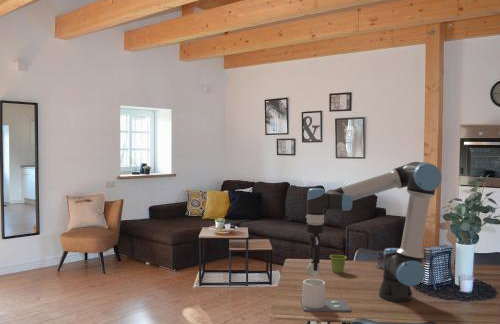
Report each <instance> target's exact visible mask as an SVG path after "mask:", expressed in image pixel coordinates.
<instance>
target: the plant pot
mask: <svg viewBox="0 0 500 324" xmlns="http://www.w3.org/2000/svg"><path fill="white" fill-rule="evenodd" d="M329 258H330V262H331V271H332V272H333V273H335V274H343V273H344V270H345V264H346V260H347V258H348V257H347V255H343V254H330V255H329Z"/></svg>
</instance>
